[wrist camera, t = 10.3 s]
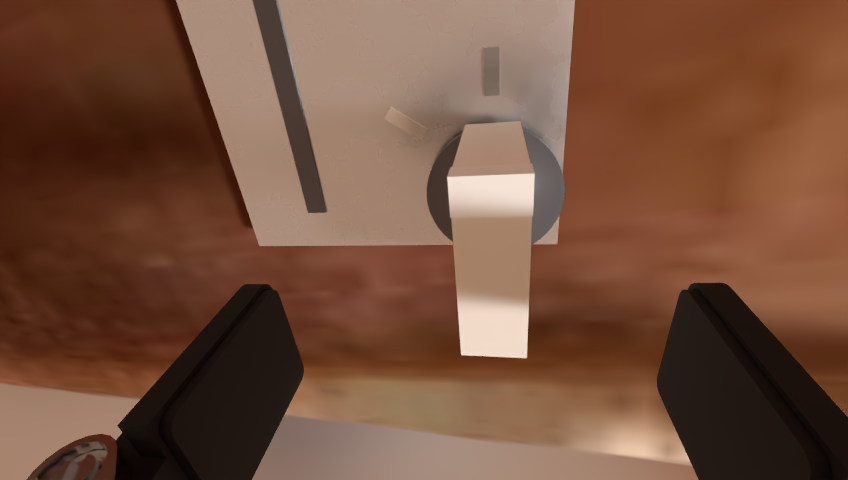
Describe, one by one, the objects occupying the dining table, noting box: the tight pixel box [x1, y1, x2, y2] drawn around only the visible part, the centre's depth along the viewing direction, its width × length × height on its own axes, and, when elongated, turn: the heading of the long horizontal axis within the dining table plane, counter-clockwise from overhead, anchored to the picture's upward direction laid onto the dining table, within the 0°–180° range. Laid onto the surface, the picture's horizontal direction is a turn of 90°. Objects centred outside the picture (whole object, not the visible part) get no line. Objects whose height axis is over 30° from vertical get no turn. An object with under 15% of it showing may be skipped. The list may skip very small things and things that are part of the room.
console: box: [176, 0, 575, 246], centre depth 17 cm, size 20×16×2 cm
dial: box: [427, 121, 565, 358], centre depth 15 cm, size 6×6×7 cm
